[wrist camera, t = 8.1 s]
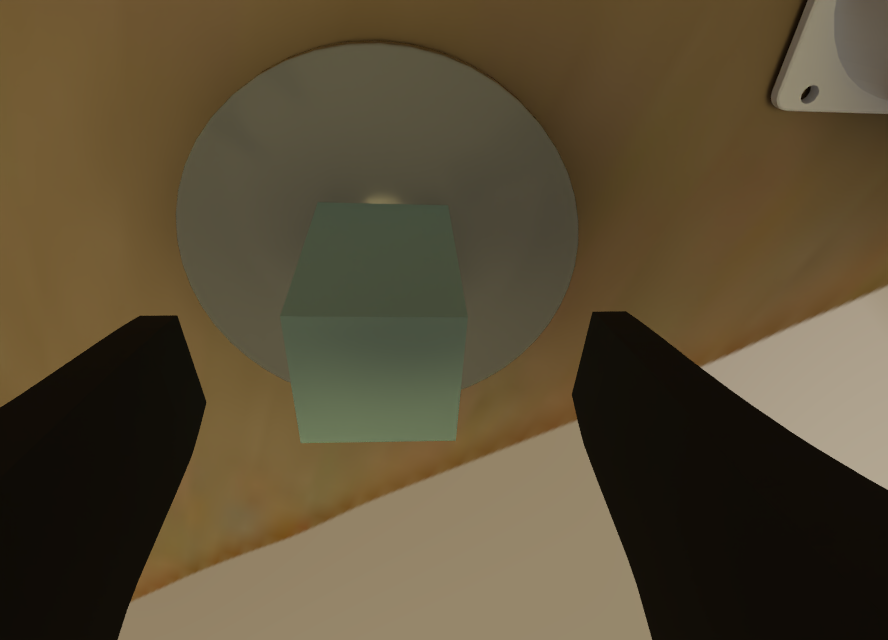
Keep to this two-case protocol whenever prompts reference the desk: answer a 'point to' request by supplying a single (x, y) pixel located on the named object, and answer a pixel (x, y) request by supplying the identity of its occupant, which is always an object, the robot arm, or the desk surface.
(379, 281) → the pale green block
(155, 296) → the desk surface
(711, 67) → the desk surface
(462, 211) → the slate plate
